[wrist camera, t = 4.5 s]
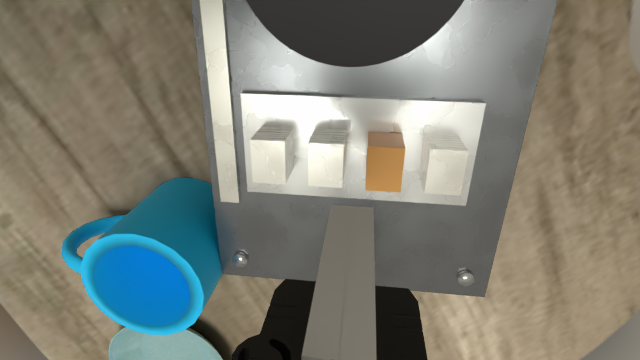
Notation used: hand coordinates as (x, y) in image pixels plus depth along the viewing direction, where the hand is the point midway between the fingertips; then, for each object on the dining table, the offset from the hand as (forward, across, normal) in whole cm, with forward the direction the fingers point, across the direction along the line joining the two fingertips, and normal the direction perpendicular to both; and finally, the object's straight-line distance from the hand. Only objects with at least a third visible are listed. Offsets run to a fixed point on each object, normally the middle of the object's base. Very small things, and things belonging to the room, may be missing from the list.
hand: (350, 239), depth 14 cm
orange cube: (+9, +1, 0) cm, 9 cm away
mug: (+15, -15, -9) cm, 23 cm away
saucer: (+15, -17, -24) cm, 33 cm away
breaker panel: (+14, 0, 0) cm, 14 cm away
